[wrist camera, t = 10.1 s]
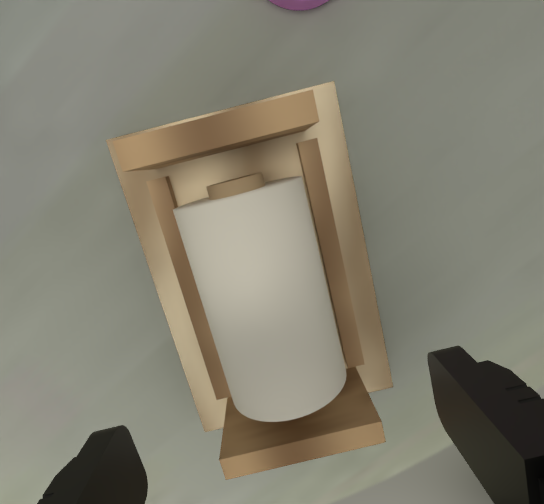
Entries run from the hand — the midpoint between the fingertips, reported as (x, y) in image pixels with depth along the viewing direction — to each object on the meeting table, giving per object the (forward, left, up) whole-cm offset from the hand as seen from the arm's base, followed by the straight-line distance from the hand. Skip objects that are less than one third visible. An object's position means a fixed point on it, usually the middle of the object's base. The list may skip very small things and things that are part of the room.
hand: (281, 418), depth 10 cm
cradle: (0, 0, -13) cm, 13 cm away
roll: (0, 0, -12) cm, 12 cm away
